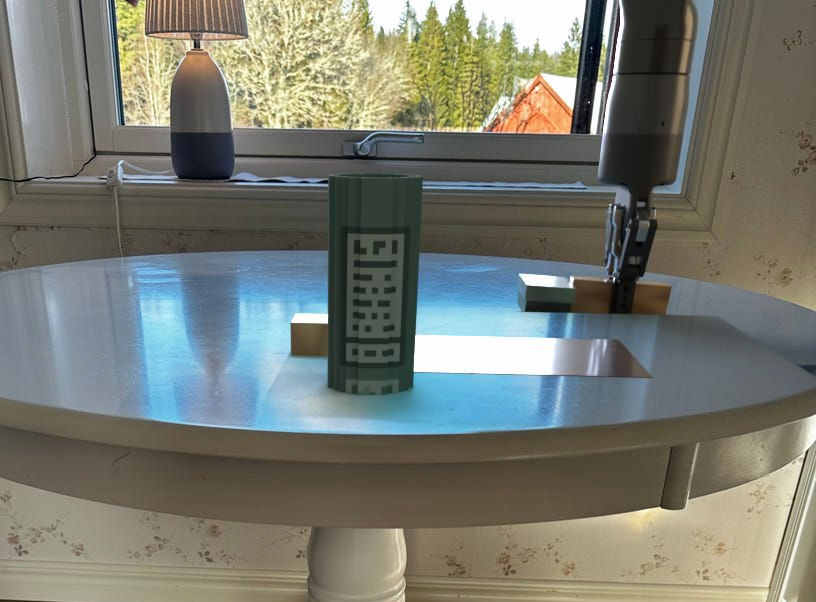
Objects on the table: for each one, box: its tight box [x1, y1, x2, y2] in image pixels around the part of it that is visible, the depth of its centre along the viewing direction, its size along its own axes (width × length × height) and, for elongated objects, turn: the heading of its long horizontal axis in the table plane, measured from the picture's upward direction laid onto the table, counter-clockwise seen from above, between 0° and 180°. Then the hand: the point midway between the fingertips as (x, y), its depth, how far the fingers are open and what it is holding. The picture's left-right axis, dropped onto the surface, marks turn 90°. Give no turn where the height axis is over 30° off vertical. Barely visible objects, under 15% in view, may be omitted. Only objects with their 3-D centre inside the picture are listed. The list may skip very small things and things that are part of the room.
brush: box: [516, 273, 673, 316], centre depth 99 cm, size 15×8×4 cm, turn 86°
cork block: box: [289, 313, 328, 357], centre depth 78 cm, size 4×4×4 cm
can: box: [326, 172, 424, 396], centre depth 66 cm, size 6×6×15 cm
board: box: [414, 334, 654, 379], centre depth 78 cm, size 20×14×2 cm
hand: (616, 315), depth 100 cm, fingers closed on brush, 2 cm apart
